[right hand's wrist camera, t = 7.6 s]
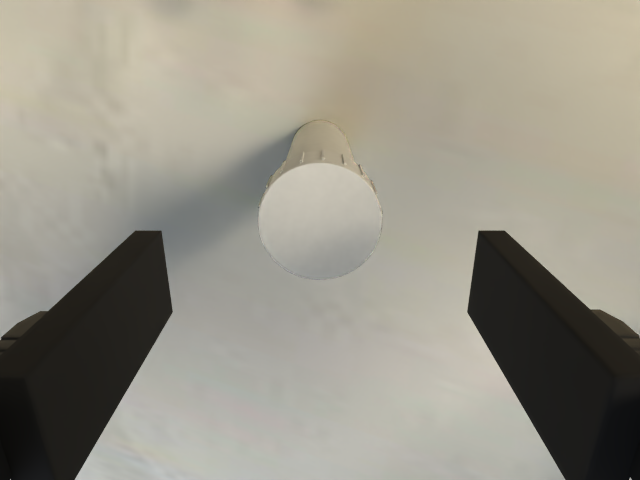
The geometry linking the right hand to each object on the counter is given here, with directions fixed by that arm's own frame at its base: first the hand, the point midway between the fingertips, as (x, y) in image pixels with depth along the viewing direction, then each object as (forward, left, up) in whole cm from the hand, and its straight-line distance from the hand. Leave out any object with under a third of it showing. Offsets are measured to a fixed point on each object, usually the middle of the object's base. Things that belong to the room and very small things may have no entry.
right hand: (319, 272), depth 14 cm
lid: (0, 0, -5) cm, 5 cm away
